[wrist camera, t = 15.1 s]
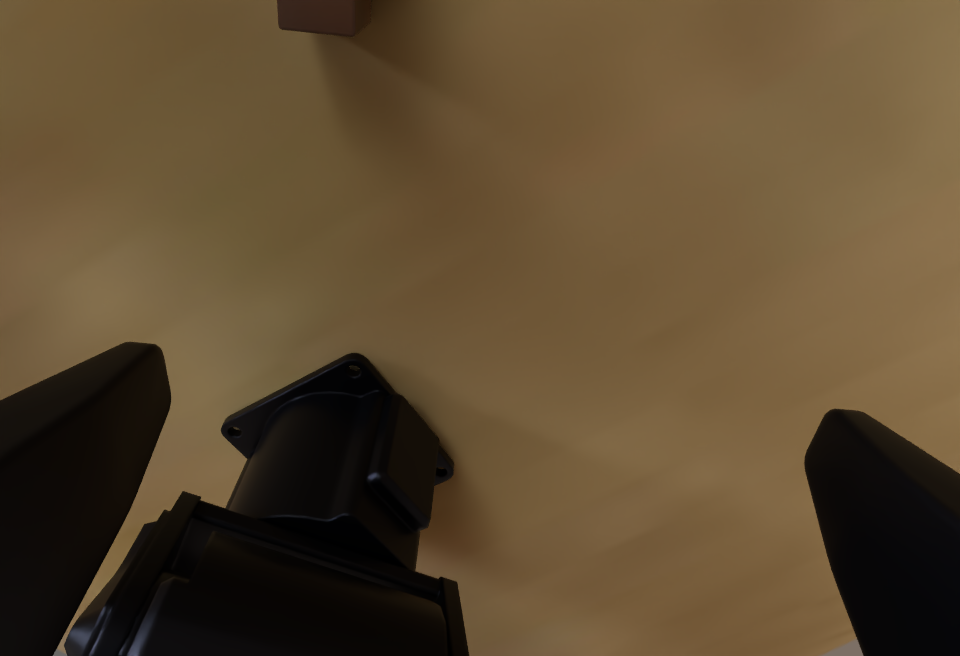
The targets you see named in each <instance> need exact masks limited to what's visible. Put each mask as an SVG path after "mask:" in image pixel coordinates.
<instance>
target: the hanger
mask: <svg viewBox="0 0 960 656" xmlns="http://www.w3.org/2000/svg"><path fill="white" fill-rule="evenodd" d="M277 9H278V25H279V28H280V29H282V30H290V31H299V32H308V33H317V34H327V35H336V36H345V37H355V36H356V35H357V34H358V33H359V32H360V31H361V30H362V29H363V28H364V27H365V26H367V25H368V24H369V23H370V21H371V0H277Z"/></svg>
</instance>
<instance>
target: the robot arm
mask: <svg viewBox="0 0 960 656" xmlns="http://www.w3.org/2000/svg"><path fill="white" fill-rule="evenodd" d="M352 365H353V366H357V367H358V368H360V370H357V371H356V370H352V369H351V368H350V367H349V366H352ZM170 404H171V391H170V386H169V381H168V375H167V370H166V365H165V360H164V355H163V352H162V350H161V348H160V347H159V346H157V345H156V344H148V343H138V342H125V343H122V344H120V345H118V346H116V347H114V348H112V349H109V350H107V351H105V352H103V353H101V354H99V355H97V356H94V357H92V358H90V359H88V360H86V361H84V362H82V363H79V364H77V365H75V366H73V367H71V368H69V369H67V370H64V371H62V372H60V373H58V374H56V375H54V376H52V377H49V378H47V379H45V380H43V381H41V382H39V383H37V384H35V385H32V386H30V387H28V388H26V389H24V390H22V391H20V392H17V393H15V394H13V395H11V396H9V397H7V398H5V399H2V400H0V656H53V654H54V652H55V651H56V649H57V647H58V645H59V643H60V641H61V639H62V637H63V635H64V634H65V632H66V630H67V628H68V626H69V624H70V622H71V620H72V619H73V617H74V615H75V613H76V611H77V609H78V607H79V605H80V604H81V602H82V600H83V598H84V596H85V594H86V592H87V590H88V589H89V587H90V585H91V583H92V581H93V579H94V577H95V575H96V573H97V572H98V570H99V568H100V566H101V564H102V562H103V560H104V558H105V557H106V555H107V553H108V551H109V549H110V547H111V545H112V543H113V542H114V540H115V538H116V536H117V534H118V532H119V530H120V528H121V527H122V525H123V523H124V521H125V519H126V517H127V515H128V513H129V511H130V508H131V506H132V504H133V501H134V499H135V497H136V494H137V492H138V489H139V487H140V484H141V482H142V479H143V476H144V474H145V471H146V469H147V466H148V464H149V461H150V459H151V456H152V453H153V451H154V448H155V446H156V443H157V441H158V438H159V435H160V433H161V430H162V428H163V425H164V423H165V420H166V417H167V415H168V412H169V409H170ZM233 427H237V428H238V429H240V430H236V429H234V428H233ZM221 432H222V435H223V436H224V437H225V438H226V439H227V440H228V441H229V442H230V443H231V444H232V445H233V446H234V447H235V448H236V449H237V450H239V451H240V452H241V453H242V454H243V455H244V456H245V457H246V458H247V461H246V463H245V466H244V468H243V470H242V472H241V474H240V477H239V479H238V481H237V483H236V486H235V488H234V490H233V492H232V495H231V497H230V499H229V501H228V503H227V506H226V508H222V507H219V506H216V505H213V504H210V503H207V502H204V501H201V500H200V499H201V497H200V496H197V495H194V494H191V493H188V492H185V491H183V492H182V493H181V495H180V497H179V498H178V500H177V501H176V503H175V505H174V506H173V508H172V510H171V511H167V510H164V511H163V513H162V514H161V516H160V517H159V519H158V520H157V521H156V522H151V523H147V524H144V526H143V528H142V529H141V531H140V533H139V535H138V536H137V538H136V540H135V542H134V544H133V545H132V547H131V549H130V551H129V552H128V554H127V556H126V557H125V559H124V561H123V563H122V564H121V566H120V567H119V569H118V570H117V572H116V573H115V575H114V576H113V577H112V578H111V580H110V581H109V582H108V583H107V584H106V586H105V587H104V588H103V589H102V590H101V592H100V593H99V594H98V595H97V596H96V598H95V599H94V600H93V601H92V602H91V604H90V605H89V606H88V607H87V608H86V610H85V611H84V612H83V613H82V614H81V615H80V617H79V618H78V619H77V621H76V622H75V624H74V625H73V627H72V629H71V631H70V633H69V635H68V637H67V639H66V642H65V644H64V647H65V650H66V653H67V656H469V652H468V646H467V640H466V634H465V627H464V621H463V615H462V609H461V603H460V597H459V591H458V584H457V582H456V581H453V580H450V579H447V578H444V577H440V578H439V579H437V578H434V577H431V576H428V575H425V574H422V573H419V572H416V571H415V569H416V561H417V553H418V545H419V537H420V530H423V529H425V528H428V526H429V522H430V519H431V511H432V502H433V492H434V486H435V485H437V484H440V483H442V482H444V481H447V480H448V479H450V478H451V477H452V476H453V472H454V462H453V460H452V459H451V458H450V457H449V455H448V454H447V453H446V452H445V451H444V449H443V448H442V447H441V446H440V445H439V439H438V437H437V436H436V435H435V434H434V433H433V431H432V430H431V429H430V428H429V427H428V425H427V424H426V423H425V422H424V421H423V419H422V418H421V417H420V416H419V415H418V413H417V412H416V411H415V410H414V409H413V407H412V406H411V405H410V404H409V403H408V401H407V400H406V399H405V398H404V397H403V396H402V395H400V394H398V393H396V392H395V391H394V390H393V389H392V388H391V386H390V385H389V384H388V383H387V382H386V381H385V379H384V378H383V377H382V376H381V375H380V373H379V372H378V371H377V370H376V369H375V367H374V366H373V365H372V364H371V363H370V362H369V360H368V359H367V358H366V357H364V356H363V355H361V354H358V353H351V354H347V355H345V356H343V357H341V358H339V359H338V360H336V361H334V362H332V363H330V364H328V365H326V366H324V367H322V368H320V369H318V370H316V371H315V372H313V373H311V374H309V375H307V376H305V377H303V378H301V379H299V380H297V381H295V382H293V383H291V384H290V385H288V386H286V387H284V388H282V389H280V390H278V391H276V392H274V393H272V394H270V395H268V396H267V397H265V398H263V399H261V400H259V401H257V402H255V403H253V404H251V405H249V406H247V407H245V408H244V409H242V410H240V411H238V412H236V413H234V414H232V415H230V416H229V417H227V418H226V419H225V421H224V423H223V425H222V428H221ZM804 464H805V472H806V476H807V480H808V484H809V487H810V491H811V495H812V499H813V503H814V507H815V510H816V514H817V518H818V522H819V526H820V530H821V534H822V537H823V541H824V545H825V549H826V553H827V556H828V560H829V563H830V566H831V570H832V573H833V575H834V578H835V581H836V584H837V587H838V590H839V592H840V595H841V597H842V600H843V603H844V605H845V608H846V611H847V613H848V616H849V618H850V621H851V624H852V626H853V629H854V632H855V634H856V637H857V640H858V642H859V645H860V647H861V650H862V653H863V655H864V656H960V474H959V473H958V472H956V471H954V470H953V469H951V468H950V467H948V466H947V465H945V464H944V463H942V462H940V461H939V460H937V459H936V458H934V457H933V456H931V455H930V454H928V453H926V452H925V451H923V450H922V449H920V448H919V447H917V446H916V445H914V444H912V443H911V442H909V441H908V440H906V439H905V438H903V437H902V436H900V435H898V434H897V433H895V432H894V431H892V430H891V429H889V428H888V427H886V426H884V425H883V424H881V423H880V422H878V421H877V420H875V419H874V418H872V417H870V416H869V415H867V414H866V413H864V412H861V411H855V410H844V409H832V410H830V411H828V412H827V413H826V414H825V415H824V417H823V419H822V421H821V423H820V425H819V427H818V429H817V431H816V433H815V435H814V437H813V439H812V441H811V443H810V445H809V447H808V449H807V452H806V455H805V462H804ZM437 467H443V468H445V469H438V468H437Z"/></svg>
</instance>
